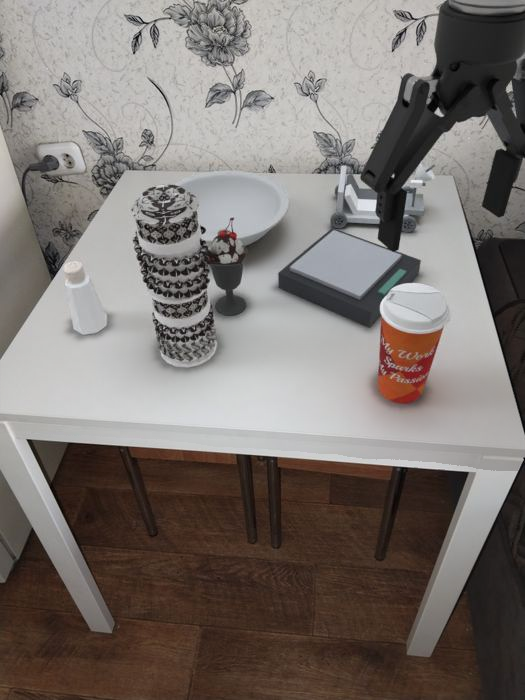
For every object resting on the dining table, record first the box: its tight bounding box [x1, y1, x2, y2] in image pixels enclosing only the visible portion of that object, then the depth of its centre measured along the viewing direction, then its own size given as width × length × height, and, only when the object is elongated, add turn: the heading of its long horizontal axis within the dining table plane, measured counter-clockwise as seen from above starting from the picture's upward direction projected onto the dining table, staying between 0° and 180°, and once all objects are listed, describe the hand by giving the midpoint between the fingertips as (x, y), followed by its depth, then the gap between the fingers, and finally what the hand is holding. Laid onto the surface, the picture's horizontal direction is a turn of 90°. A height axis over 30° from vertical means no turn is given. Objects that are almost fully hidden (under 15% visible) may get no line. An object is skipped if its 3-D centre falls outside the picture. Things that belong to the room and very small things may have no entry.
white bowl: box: [171, 169, 290, 248], centre depth 106 cm, size 24×24×7 cm
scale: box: [277, 227, 422, 328], centre depth 96 cm, size 17×16×4 cm
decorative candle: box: [130, 183, 218, 368], centre depth 78 cm, size 9×9×25 cm
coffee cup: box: [377, 282, 452, 404], centre depth 75 cm, size 8×8×15 cm
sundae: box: [206, 218, 249, 316], centre depth 88 cm, size 7×7×15 cm
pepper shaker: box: [62, 260, 108, 336], centre depth 88 cm, size 5×5×11 cm
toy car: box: [330, 160, 436, 233], centre depth 108 cm, size 18×10×12 cm
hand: (441, 227), depth 63 cm, fingers open, 13 cm apart
